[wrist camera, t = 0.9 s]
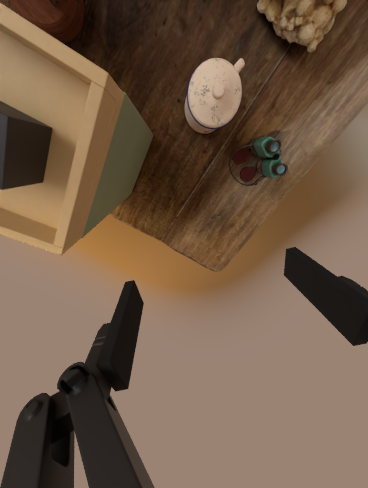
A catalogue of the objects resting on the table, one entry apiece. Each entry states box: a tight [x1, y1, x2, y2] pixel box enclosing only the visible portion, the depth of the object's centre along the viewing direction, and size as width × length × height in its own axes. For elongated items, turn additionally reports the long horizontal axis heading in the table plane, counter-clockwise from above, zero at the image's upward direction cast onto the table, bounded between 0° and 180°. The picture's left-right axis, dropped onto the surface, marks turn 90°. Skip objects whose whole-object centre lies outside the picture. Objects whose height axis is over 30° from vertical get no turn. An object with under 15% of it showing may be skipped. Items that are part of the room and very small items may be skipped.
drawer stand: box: [0, 3, 154, 255], centre depth 24 cm, size 14×18×30 cm
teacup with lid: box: [185, 58, 245, 133], centre depth 30 cm, size 12×9×12 cm
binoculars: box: [229, 136, 288, 186], centre depth 37 cm, size 9×11×10 cm
